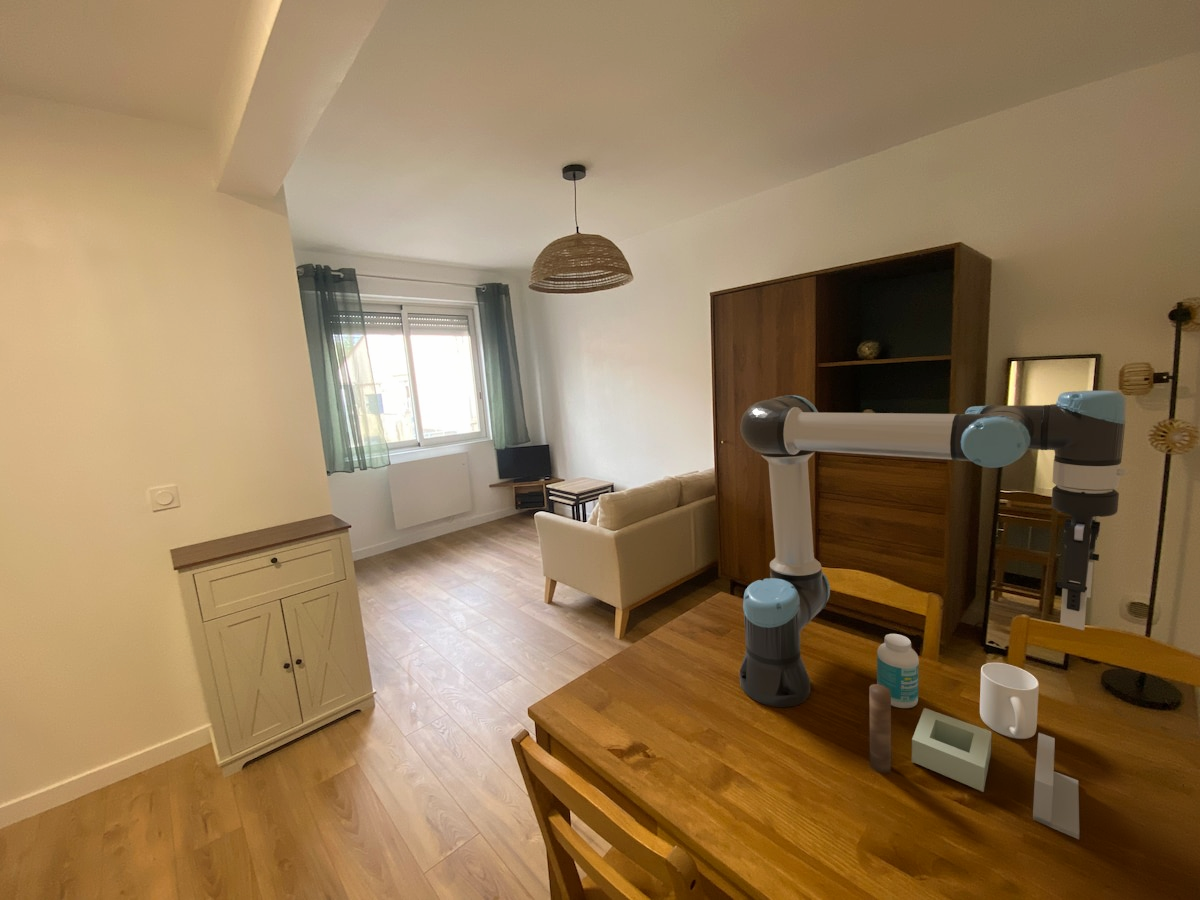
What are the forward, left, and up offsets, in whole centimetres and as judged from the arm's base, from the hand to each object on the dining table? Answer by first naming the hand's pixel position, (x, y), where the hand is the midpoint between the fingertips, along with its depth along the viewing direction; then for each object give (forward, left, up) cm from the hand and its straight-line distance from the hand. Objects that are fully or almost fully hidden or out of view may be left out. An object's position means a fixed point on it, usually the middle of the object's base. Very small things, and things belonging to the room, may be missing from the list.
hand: (1076, 610), depth 80 cm
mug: (-8, 0, -27) cm, 28 cm away
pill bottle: (-26, -2, -27) cm, 37 cm away
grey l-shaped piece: (-1, -14, -27) cm, 30 cm away
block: (-15, -14, -27) cm, 34 cm away
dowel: (-24, -23, -27) cm, 42 cm away
